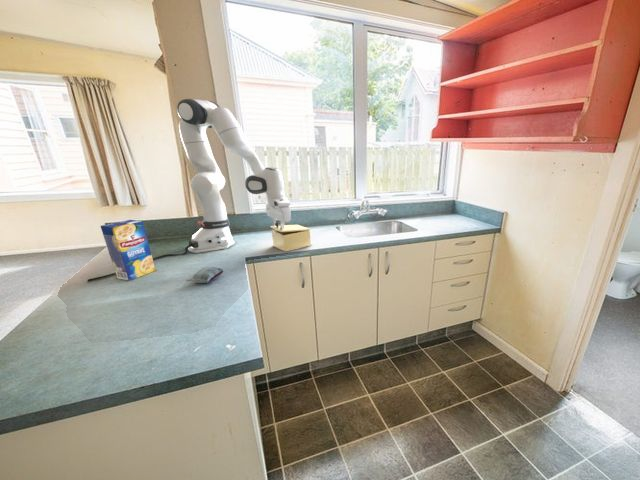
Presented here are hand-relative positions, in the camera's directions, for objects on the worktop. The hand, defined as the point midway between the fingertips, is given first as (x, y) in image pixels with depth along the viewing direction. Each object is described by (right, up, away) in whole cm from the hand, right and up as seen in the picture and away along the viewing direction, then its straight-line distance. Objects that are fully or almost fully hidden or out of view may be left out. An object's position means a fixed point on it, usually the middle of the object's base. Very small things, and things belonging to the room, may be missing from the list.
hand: (279, 227), depth 155 cm
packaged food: (-17, -25, -35) cm, 46 cm away
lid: (+4, -1, +5) cm, 6 cm away
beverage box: (-49, -23, -31) cm, 62 cm away
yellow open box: (+4, -10, +8) cm, 14 cm away
